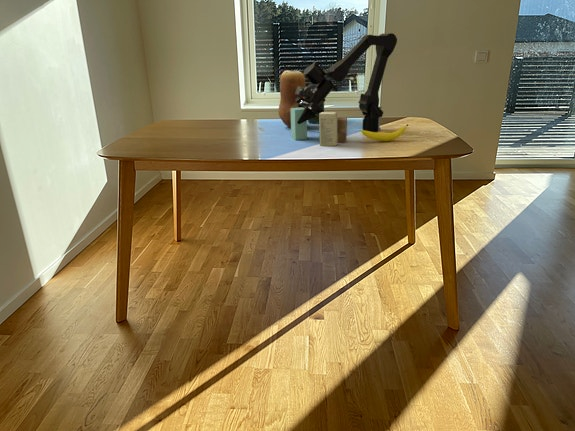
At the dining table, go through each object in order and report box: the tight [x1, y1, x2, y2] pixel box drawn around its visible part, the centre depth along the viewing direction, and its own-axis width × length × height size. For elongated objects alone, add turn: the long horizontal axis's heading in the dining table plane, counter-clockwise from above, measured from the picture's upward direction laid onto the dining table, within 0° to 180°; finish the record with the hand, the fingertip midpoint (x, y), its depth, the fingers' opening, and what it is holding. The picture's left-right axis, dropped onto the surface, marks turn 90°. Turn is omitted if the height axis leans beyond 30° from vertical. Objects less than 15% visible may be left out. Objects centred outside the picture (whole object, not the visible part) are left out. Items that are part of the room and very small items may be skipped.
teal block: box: [290, 107, 308, 141], centre depth 171 cm, size 5×5×12 cm
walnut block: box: [337, 117, 348, 144], centre depth 164 cm, size 4×4×9 cm
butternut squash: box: [278, 69, 306, 129], centre depth 190 cm, size 14×13×25 cm
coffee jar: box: [307, 83, 325, 124], centre depth 201 cm, size 10×8×19 cm
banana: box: [359, 124, 409, 142], centre depth 163 cm, size 3×19×6 cm, turn 96°
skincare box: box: [318, 111, 338, 147], centre depth 160 cm, size 6×4×12 cm
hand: (295, 122), depth 171 cm, fingers closed on teal block, 5 cm apart
